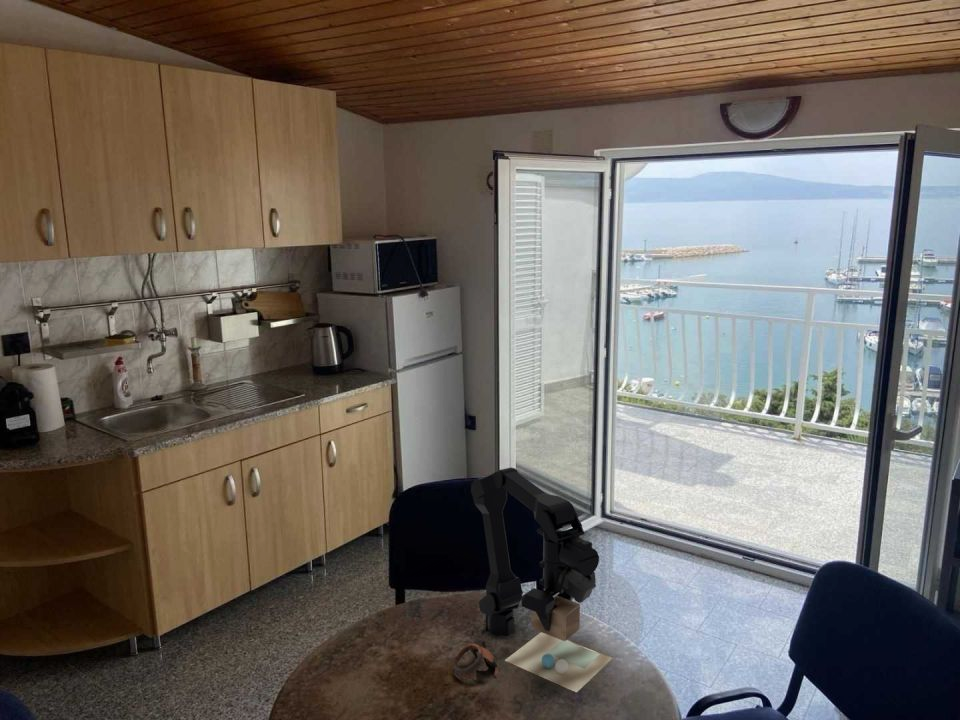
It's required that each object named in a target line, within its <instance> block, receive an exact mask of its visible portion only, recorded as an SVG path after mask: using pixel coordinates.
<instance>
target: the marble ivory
mask: <svg viewBox="0 0 960 720" xmlns="http://www.w3.org/2000/svg"><path fill="white" fill-rule="evenodd" d="M568 668H569V666H568V663H567V662H566V661H565V660H563V659H560V660H558V661H557V662H556V664H555V669H556V671H557V672H558V673H560V674H564V673H566V672H567V671H568Z"/></svg>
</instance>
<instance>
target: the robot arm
mask: <svg viewBox="0 0 960 720" xmlns="http://www.w3.org/2000/svg"><path fill="white" fill-rule="evenodd" d="M507 492H508V493H509V494H510V495H511V496H513V497H514V498H515V499H516V500H518V501H519V502H520V503H522V504H523V505H525V506H526V507H527V508H528V509H529V510H530V511H531V512H533V516H534V521H536V523H537V524H539V526H540V528H538V529H537V530H536V532H537V533H538V534H539V535H541V536H542V537H543V542H542V543H543V544H542V545H543V546H542V547H543V548H542V549H543V551H542V556H543V557H542V560H541V561H539V562H538V565H539V568H542V578H540V579H538V585H540V586H543V590H540V589H537V588H534V587H532V588H531V589H530V590H529V591H527V592H526V593H524V592H523V589H522V580H521V578H520V577H518V576H516V575H515V574H514V573H513V571H512V569H511V564H510V556H509V555H510V554H509V550H508V541H507V534H506V529H505V527H506V526H505V520H504V513H503V512H504V511H503V510H504V508H505V505H506V503H507V500H508V493H507ZM470 493H471V496H472V499H473V503H474V505H475V507H476V508H477V509H478V510H479V511H480V512H481V516H482V521H483V529H484V536H485V541H486V542H485V543H486V549H487V557H488V564H489V571H490V572H489V576H488V578H487V581H486V584H485V596H484V597H482V598H481V600H479V601H478V606H479V610H480V612H481V613H482V614H485V628H484V629H483V630H481V635H484V634H485V633H487V632H488V633H490V634H491V635H493V636H503V637H510V636H511V635H513V633H515V617H514V610H516V609H519V608H520V607H519V606H520V604H521V607H522V608H525V609H527V610H530V611H531V612H532V611H535V612H536V613H537V615H538V617H539V619H540V621H541V623H542V625H543V627H544V629H545V630H546V631H550V627H551V620H552V611H553V610H554V609H556V608H557V607H558V606H556V605H554V597H555V596H559V597H562V598H565V599H568V600H571V601H573V599H574V602H576V603H579V604H581V603H583V602H585V600H587V599H588V598H590V597H591V594H592V591H593V589H595V588H596V587H597V583H596V573H595V571H596V570H597V569H598V566H599V563H600V556H599V552H598V551H597V550H596V549H595V548H593V543H592V542H591V541H589V540H585V539H583V538H582V537H581V536H584V535H585V531H584V528H583V524H582V522H581V521H580V519H579V516H578V515H577V511H576V510H575V507H574V505H573V503H572V502H570V501H569V500H567V499H565V498H563V497H561V496H559V495H554V494H549V493H546V492H545V491H544V490H543V489H541V488H539V487H538V486H536V485H535V484H534V483H533V482H532V481H530V480H529V479H527V478H526V477H525V476H523V475H522V474H520V473H519V472H518V470H517V468H515V467H507V468H502V469H498V470H496V471H495V472H493V473H492V474H489V475H488V476H487V475H486V476H483V477H479V478H475V479H474V480H473V481H472V483H471V485H470ZM568 527H571V528H568ZM565 528H568V529H565ZM561 529H565V530H561Z"/></svg>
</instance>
